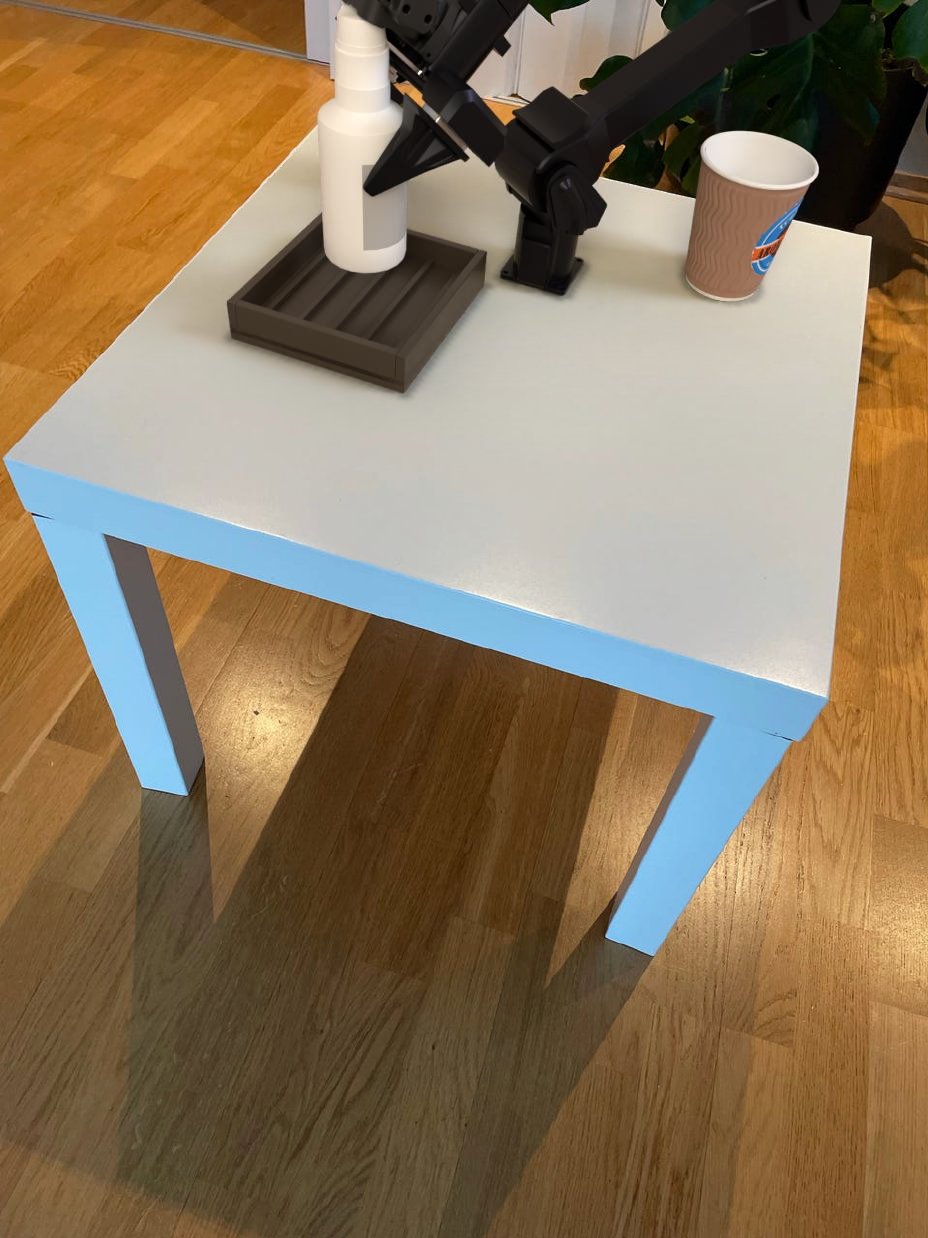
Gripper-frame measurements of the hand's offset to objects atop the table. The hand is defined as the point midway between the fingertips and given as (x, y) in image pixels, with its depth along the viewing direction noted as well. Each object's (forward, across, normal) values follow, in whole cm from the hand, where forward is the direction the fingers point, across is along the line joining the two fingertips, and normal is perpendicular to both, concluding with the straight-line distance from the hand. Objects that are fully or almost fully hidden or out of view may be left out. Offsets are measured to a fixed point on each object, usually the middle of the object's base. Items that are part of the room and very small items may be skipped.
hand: (347, 171), depth 73 cm
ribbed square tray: (+8, 0, +10) cm, 13 cm away
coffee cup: (-16, +8, +34) cm, 39 cm away
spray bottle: (+4, 0, +6) cm, 7 cm away
